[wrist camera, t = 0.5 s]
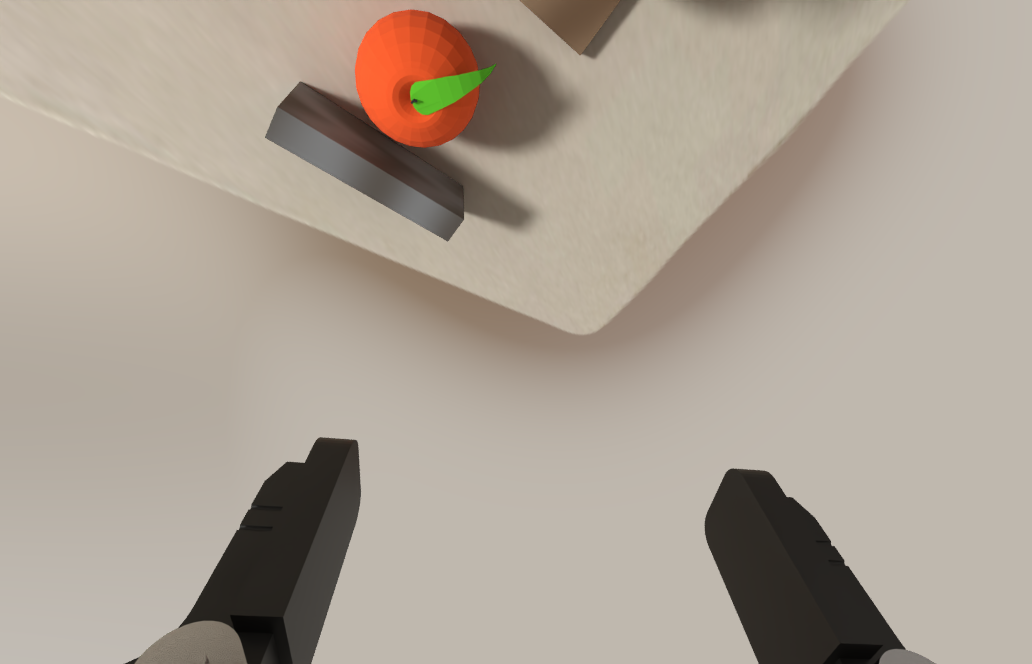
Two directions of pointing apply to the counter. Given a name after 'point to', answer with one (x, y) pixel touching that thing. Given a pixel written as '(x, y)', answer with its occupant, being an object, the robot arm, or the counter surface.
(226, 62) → the counter surface
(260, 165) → the counter surface
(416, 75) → the clementine
